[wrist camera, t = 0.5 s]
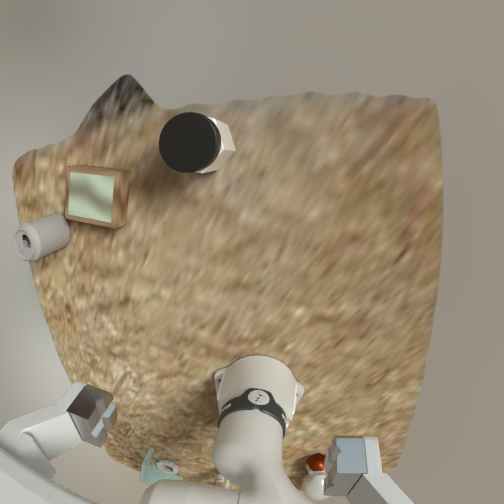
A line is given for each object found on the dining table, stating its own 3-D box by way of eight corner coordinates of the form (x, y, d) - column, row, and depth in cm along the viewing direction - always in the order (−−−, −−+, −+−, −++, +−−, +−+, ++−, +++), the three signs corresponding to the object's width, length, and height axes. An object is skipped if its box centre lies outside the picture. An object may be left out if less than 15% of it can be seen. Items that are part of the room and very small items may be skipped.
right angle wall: (183, 477, 79) (177, 495, 72) (147, 463, 80) (139, 480, 72) (190, 460, 75) (183, 479, 68) (150, 445, 76) (141, 463, 69)
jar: (241, 126, 49) (227, 117, 38) (230, 174, 52) (212, 179, 40) (190, 116, 50) (162, 107, 38) (179, 163, 52) (150, 165, 41)
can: (78, 234, 59) (40, 250, 47) (59, 253, 60) (24, 271, 49) (59, 205, 57) (21, 216, 46) (42, 225, 59) (5, 239, 48)
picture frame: (126, 224, 56) (115, 229, 52) (77, 214, 57) (64, 218, 53) (130, 170, 53) (119, 171, 49) (79, 164, 54) (66, 166, 50)
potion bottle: (315, 478, 74) (313, 445, 71) (343, 489, 67) (345, 456, 65) (295, 498, 67) (291, 466, 65) (324, 511, 60) (324, 480, 58)
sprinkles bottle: (219, 462, 73) (209, 500, 60) (235, 467, 73) (227, 505, 60) (216, 470, 75) (206, 506, 62) (231, 474, 75) (223, 511, 62)
